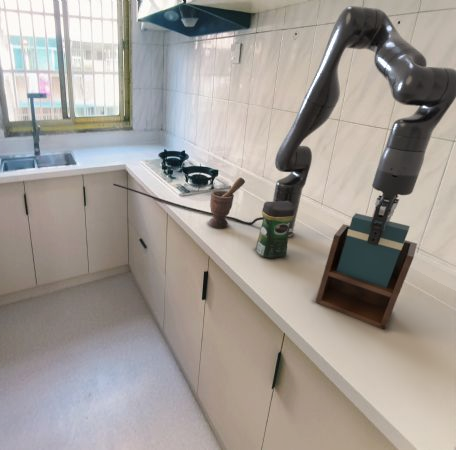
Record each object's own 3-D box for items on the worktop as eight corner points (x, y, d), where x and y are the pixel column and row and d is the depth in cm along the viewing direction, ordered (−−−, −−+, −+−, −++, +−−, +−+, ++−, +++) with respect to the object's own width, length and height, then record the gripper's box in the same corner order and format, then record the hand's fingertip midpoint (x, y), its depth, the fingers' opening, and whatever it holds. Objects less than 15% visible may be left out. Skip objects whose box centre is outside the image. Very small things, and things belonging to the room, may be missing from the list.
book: (335, 271, 86) (352, 216, 79) (339, 266, 88) (355, 212, 82) (386, 288, 79) (408, 230, 73) (388, 282, 82) (410, 226, 76)
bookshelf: (315, 302, 90) (334, 234, 82) (324, 287, 96) (343, 224, 88) (384, 329, 81) (413, 257, 73) (389, 312, 87) (417, 243, 79)
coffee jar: (277, 247, 119) (287, 197, 111) (289, 258, 112) (301, 205, 104) (251, 248, 117) (260, 198, 109) (262, 260, 110) (272, 206, 102)
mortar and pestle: (231, 219, 140) (237, 172, 132) (240, 228, 132) (247, 179, 124) (204, 221, 138) (210, 173, 130) (212, 229, 130) (218, 179, 122)
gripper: (383, 161, 80) (362, 226, 87) (372, 172, 70) (349, 245, 76) (421, 167, 75) (396, 235, 82) (416, 179, 65) (388, 256, 72)
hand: (374, 239), depth 79 cm, fingers open, 5 cm apart
